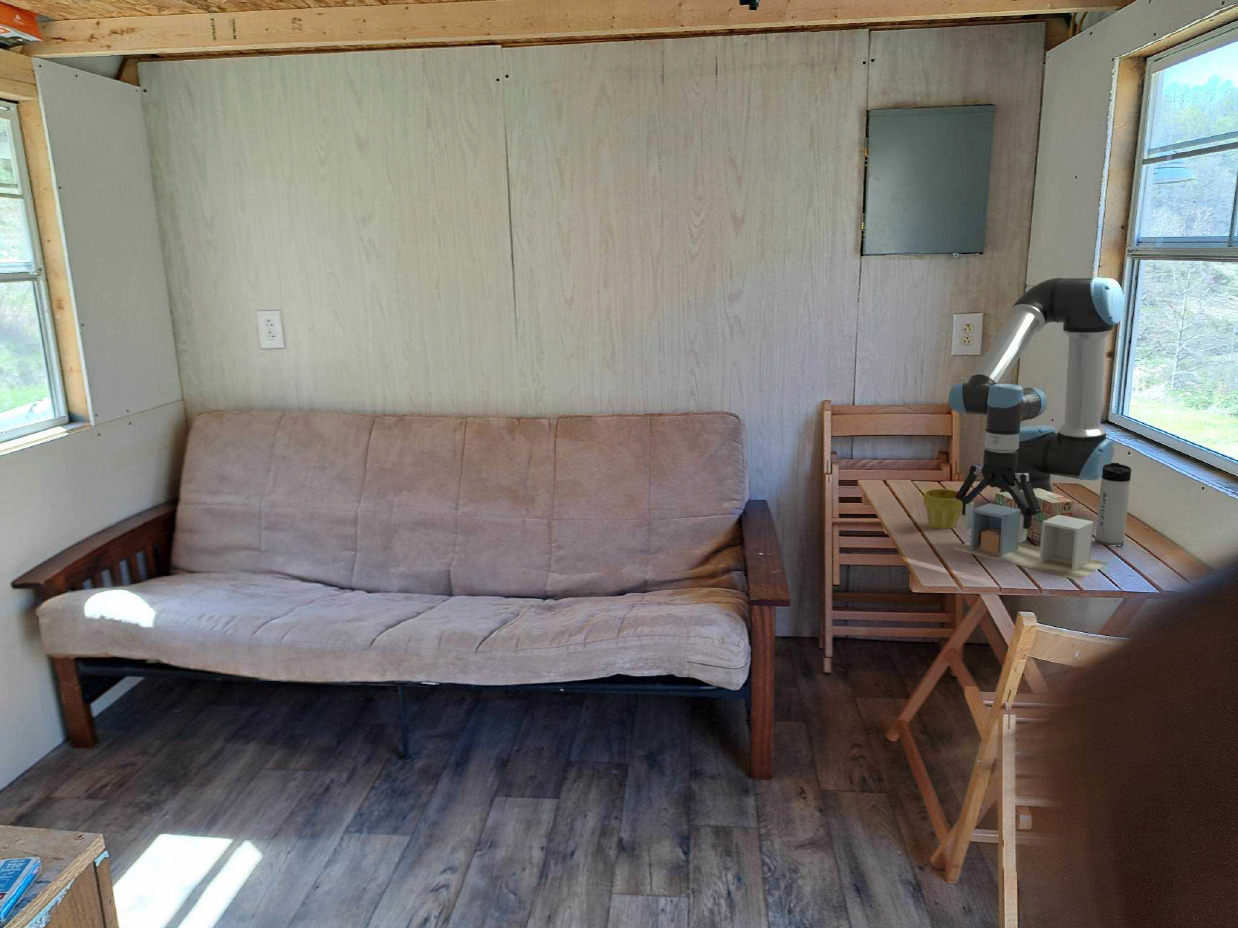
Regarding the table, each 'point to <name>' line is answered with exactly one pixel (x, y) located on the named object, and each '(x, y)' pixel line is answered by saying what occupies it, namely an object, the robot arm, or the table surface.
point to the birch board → (1037, 560)
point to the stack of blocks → (1048, 505)
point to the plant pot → (942, 508)
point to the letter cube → (991, 540)
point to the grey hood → (1066, 540)
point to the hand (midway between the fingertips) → (994, 534)
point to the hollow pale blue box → (996, 526)
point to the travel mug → (1113, 504)
